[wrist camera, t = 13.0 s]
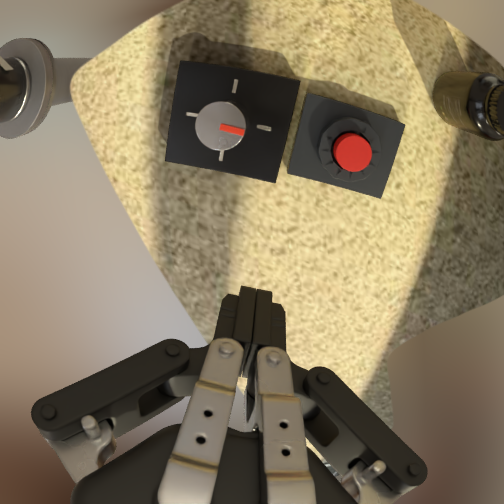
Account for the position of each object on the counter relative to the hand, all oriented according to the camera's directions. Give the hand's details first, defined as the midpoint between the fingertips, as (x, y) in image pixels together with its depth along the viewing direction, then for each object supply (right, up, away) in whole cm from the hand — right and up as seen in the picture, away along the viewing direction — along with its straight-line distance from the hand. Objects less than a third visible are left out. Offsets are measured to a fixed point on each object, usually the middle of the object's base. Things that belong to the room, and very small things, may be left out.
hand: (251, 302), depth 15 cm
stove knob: (-2, +15, +14) cm, 21 cm away
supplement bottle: (+23, +20, +13) cm, 33 cm away
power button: (+10, +13, +15) cm, 22 cm away
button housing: (+10, +14, +17) cm, 25 cm away
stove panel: (-2, +17, +17) cm, 24 cm away
